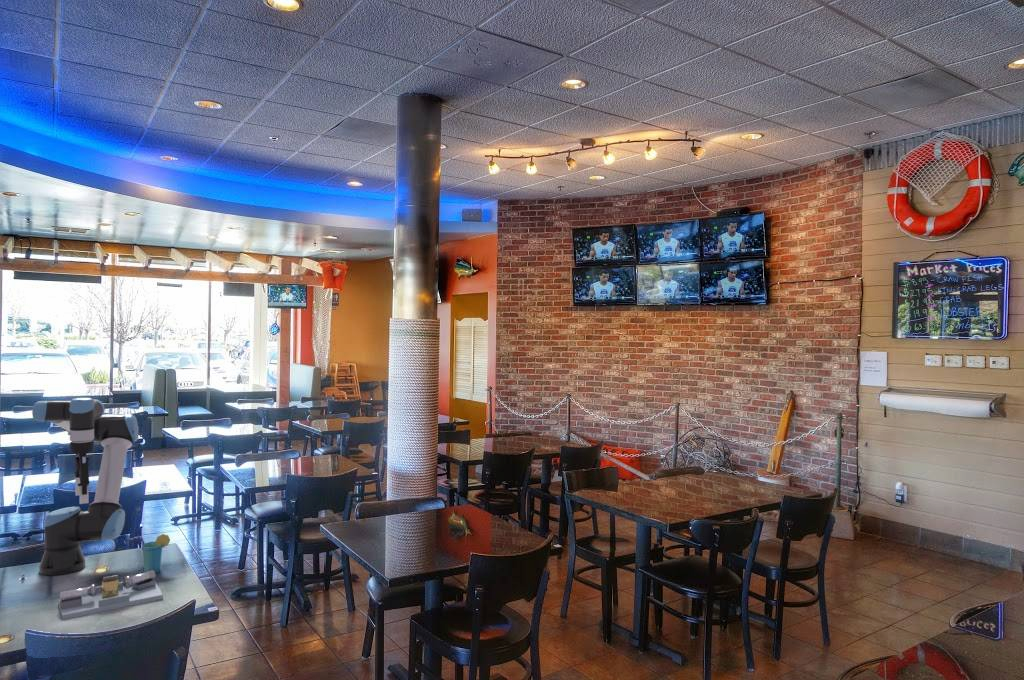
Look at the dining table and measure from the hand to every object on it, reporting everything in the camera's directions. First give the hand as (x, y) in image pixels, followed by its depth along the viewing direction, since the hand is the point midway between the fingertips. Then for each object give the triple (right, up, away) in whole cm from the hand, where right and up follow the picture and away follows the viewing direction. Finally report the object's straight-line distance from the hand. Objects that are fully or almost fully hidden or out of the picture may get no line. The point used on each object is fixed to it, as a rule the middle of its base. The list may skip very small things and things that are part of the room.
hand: (81, 499), depth 253 cm
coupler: (+16, -32, -10) cm, 37 cm away
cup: (+15, -33, +18) cm, 40 cm away
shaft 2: (+22, -32, -1) cm, 39 cm away
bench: (+16, -33, -10) cm, 38 cm away
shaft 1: (+8, -31, -16) cm, 35 cm away
